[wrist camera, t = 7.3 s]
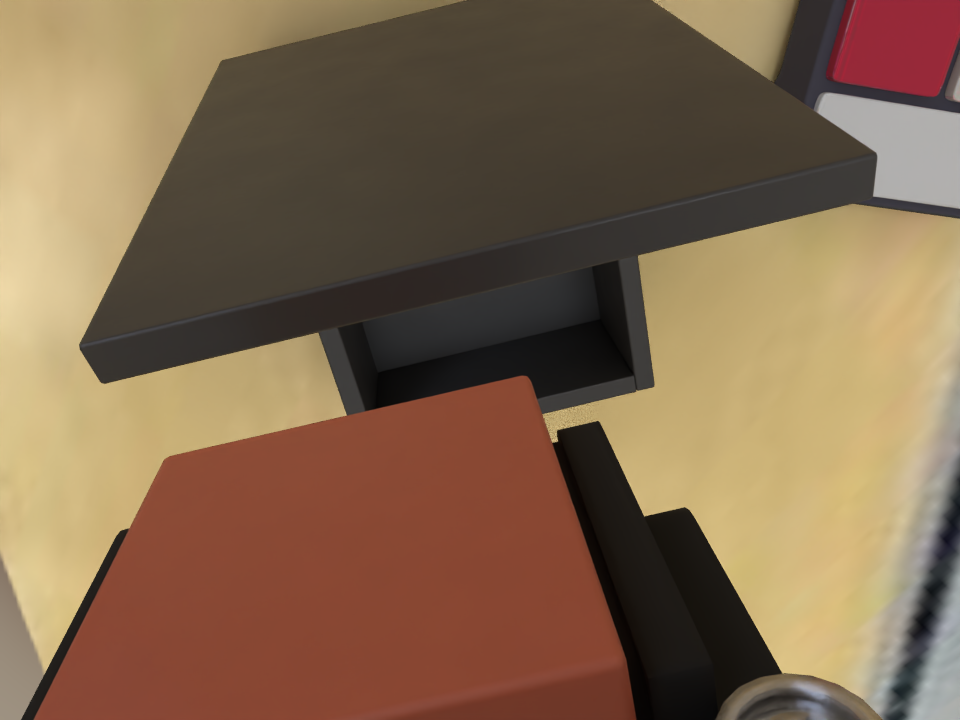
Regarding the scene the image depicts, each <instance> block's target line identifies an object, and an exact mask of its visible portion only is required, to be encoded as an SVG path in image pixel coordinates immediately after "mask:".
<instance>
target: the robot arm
mask: <svg viewBox="0 0 960 720" xmlns="http://www.w3.org/2000/svg"><path fill="white" fill-rule="evenodd" d="M557 437H558V442H555V443H552V444H553V447H554V450H555V453H556V456H557V459H558V462H559V465H560V468H561V470H562V473H563V476H564V479H565V482H566V485H567V488H568V491H569V494H570V497H571V500H572V503H573V505H574V508H575V511H576V514H577V517H578V520H579V523H580V526H581V529H582V532H583V535H584V538H585V540H586V543H587V546H588V549H589V552H590V555H591V558H592V561H593V564H594V567H595V570H596V573H597V575H598V578H599V581H600V584H601V587H602V590H603V593H604V596H605V599H606V602H607V605H608V608H609V611H610V613H611V616H612V619H613V622H614V625H615V628H616V631H617V634H618V637H619V640H620V643H621V646H622V648H623V651H624V654H625V657H626V661H627V667H628V673H629V679H630V684H631V690H632V696H633V702H634V708H635V714H636V720H883V719H882V718H881V717H880V716H879V715H878V714H877V713H876V712H875V711H874V710H873V709H872V708H871V707H870V706H869V705H868V704H867V703H866V702H865V701H864V700H863V699H861V698H860V697H858V696H856V695H855V694H853V693H851V692H850V691H848V690H846V689H845V688H843V687H841V686H840V685H838V684H835V683H832V682H829V681H826V680H823V679H820V678H817V677H814V676H808V675H798V674H787V673H784V674H782V672H781V670H780V669H779V667H778V665H777V663H776V661H775V660H774V658H773V656H772V654H771V653H770V651H769V649H768V647H767V645H766V644H765V642H764V640H763V638H762V637H761V635H760V633H759V631H758V629H757V628H756V626H755V624H754V622H753V621H752V619H751V617H750V615H749V614H748V612H747V610H746V608H745V606H744V605H743V603H742V601H741V599H740V598H739V596H738V594H737V592H736V590H735V589H734V587H733V585H732V583H731V582H730V580H729V578H728V576H727V574H726V573H725V571H724V569H723V567H722V566H721V564H720V562H719V560H718V559H717V557H716V555H715V553H714V551H713V550H712V548H711V546H710V544H709V543H708V541H707V539H706V537H705V535H704V534H703V532H702V530H701V528H700V527H699V525H698V523H697V521H696V519H695V518H694V516H693V515H692V513H691V512H690V510H688V509H687V508H685V507H684V508H680V509H676V510H671V511H667V512H662V513H658V514H654V515H649V516H645V517H644V515H643V513H642V511H641V509H640V507H639V505H638V502H637V500H636V498H635V496H634V494H633V492H632V490H631V488H630V485H629V483H628V481H627V479H626V477H625V475H624V473H623V470H622V468H621V466H620V464H619V462H618V460H617V458H616V456H615V453H614V451H613V449H612V447H611V445H610V443H609V441H608V438H607V436H606V434H605V432H604V430H603V428H602V426H601V424H600V422H599V421H596V422H592V423H587V424H583V425H579V426H574V427H570V428H565V429H561V430H557ZM129 529H130V528H129ZM129 529H125V530H122V531H120V532H119V534H118V535H117V536H116V538H115V540H114V542H113V544H112V546H111V547H110V549H109V551H108V553H107V555H106V557H105V559H104V561H103V563H102V565H101V567H100V569H99V571H98V573H97V574H96V576H95V578H94V580H93V582H92V584H91V586H90V588H89V590H88V592H87V594H86V596H85V598H84V600H83V601H82V603H81V605H80V607H79V609H78V611H77V613H76V615H75V617H74V619H73V621H72V623H71V625H70V627H69V628H68V630H67V632H66V634H65V636H64V638H63V640H62V642H61V644H60V646H59V648H58V650H57V652H56V653H55V655H54V657H53V659H52V661H51V663H50V665H49V667H48V669H47V671H46V673H45V675H44V677H43V679H42V680H41V682H40V684H39V686H38V688H37V690H36V692H35V694H34V696H33V698H32V700H31V702H30V704H29V706H28V708H27V709H26V712H25V713H24V715H23V717H22V719H21V720H34V718H35V716H36V714H37V712H38V710H39V708H40V706H41V704H42V702H43V700H44V698H45V696H46V694H47V692H48V690H49V688H50V686H51V684H52V682H53V680H54V678H55V676H56V674H57V672H58V670H59V668H60V666H61V664H62V662H63V660H64V658H65V656H66V654H67V652H68V650H69V648H70V646H71V644H72V642H73V640H74V638H75V636H76V634H77V632H78V630H79V628H80V626H81V624H82V622H83V620H84V618H85V616H86V614H87V612H88V610H89V608H90V606H91V604H92V602H93V600H94V598H95V596H96V594H97V592H98V590H99V588H100V586H101V584H102V582H103V580H104V578H105V576H106V574H107V572H108V570H109V568H110V566H111V564H112V562H113V560H114V558H115V556H116V554H117V553H118V551H119V549H120V547H121V545H122V543H123V541H124V539H125V537H126V535H127V533H128V531H129Z"/></svg>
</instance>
